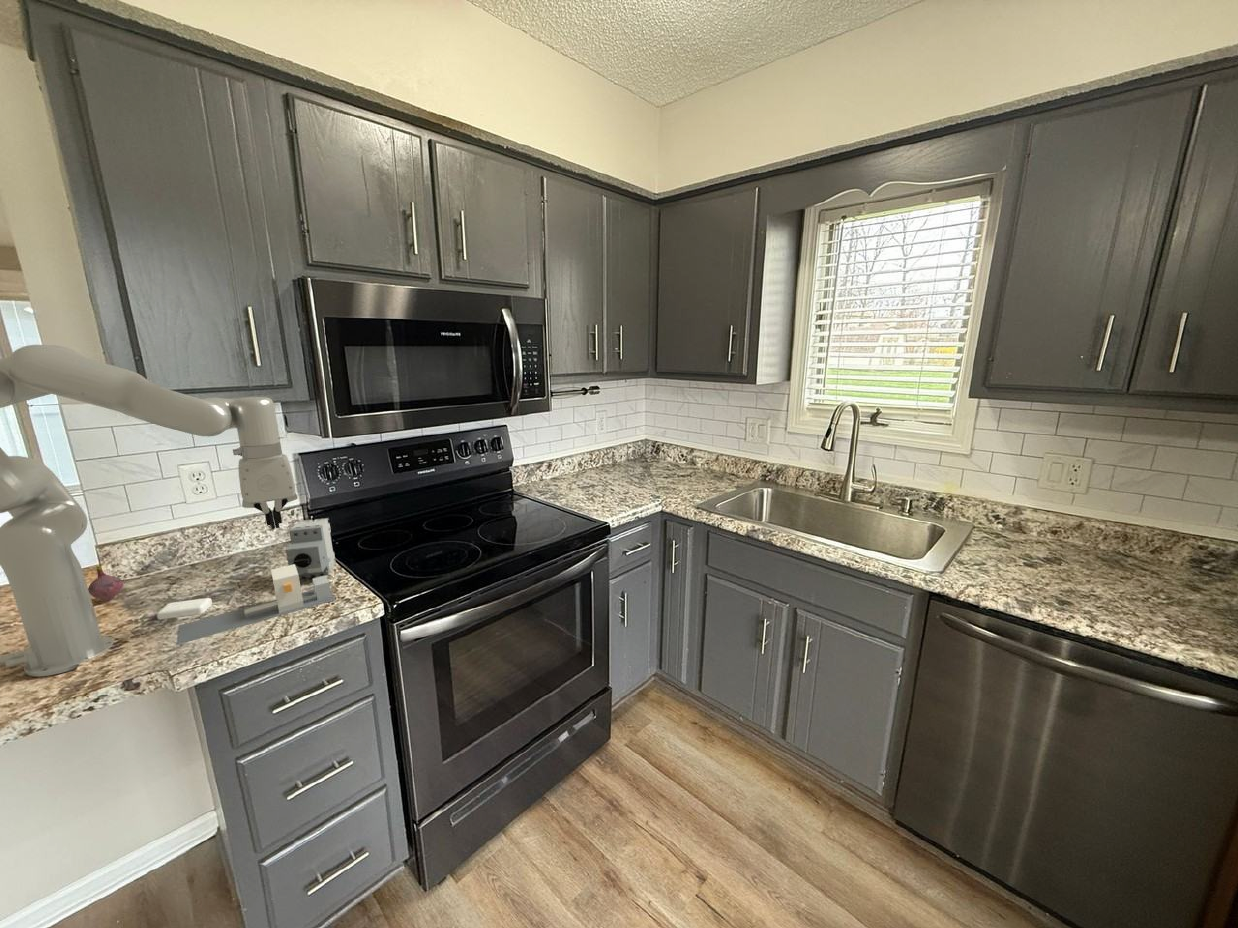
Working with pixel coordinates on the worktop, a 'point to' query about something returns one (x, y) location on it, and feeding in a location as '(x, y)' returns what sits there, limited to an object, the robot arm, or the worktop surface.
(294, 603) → the block
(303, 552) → the circuit breaker
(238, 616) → the board
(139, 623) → the worktop surface
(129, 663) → the worktop surface
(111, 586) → the vegetable
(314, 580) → the end stop
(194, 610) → the soap
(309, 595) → the rail
